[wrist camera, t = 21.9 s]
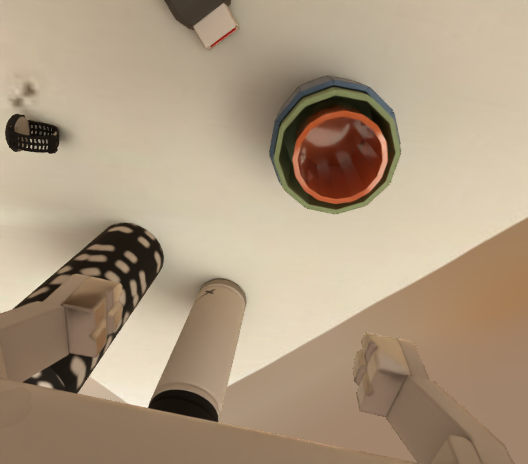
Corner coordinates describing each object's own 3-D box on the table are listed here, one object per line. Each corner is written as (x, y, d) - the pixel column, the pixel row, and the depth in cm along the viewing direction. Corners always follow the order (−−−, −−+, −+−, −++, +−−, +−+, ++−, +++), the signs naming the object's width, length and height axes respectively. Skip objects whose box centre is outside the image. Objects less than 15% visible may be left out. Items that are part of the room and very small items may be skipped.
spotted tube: (137, 292, 46) (34, 436, 29) (86, 250, 44) (-61, 377, 26) (177, 256, 43) (89, 393, 26) (124, 209, 41) (-12, 323, 23)
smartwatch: (35, 103, 37) (-2, 109, 32) (79, 133, 38) (49, 143, 33) (23, 135, 39) (-14, 145, 34) (65, 163, 40) (35, 177, 35)
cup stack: (288, 67, 33) (283, 70, 24) (393, 88, 33) (428, 98, 24) (269, 169, 38) (258, 204, 28) (361, 188, 37) (380, 229, 28)
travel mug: (202, 271, 44) (133, 414, 26) (252, 287, 44) (218, 439, 26) (192, 308, 47) (123, 461, 29) (239, 323, 47) (200, 484, 29)
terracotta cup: (304, 91, 32) (305, 101, 23) (375, 106, 32) (401, 122, 23) (288, 160, 35) (284, 193, 26) (353, 174, 35) (370, 211, 26)
